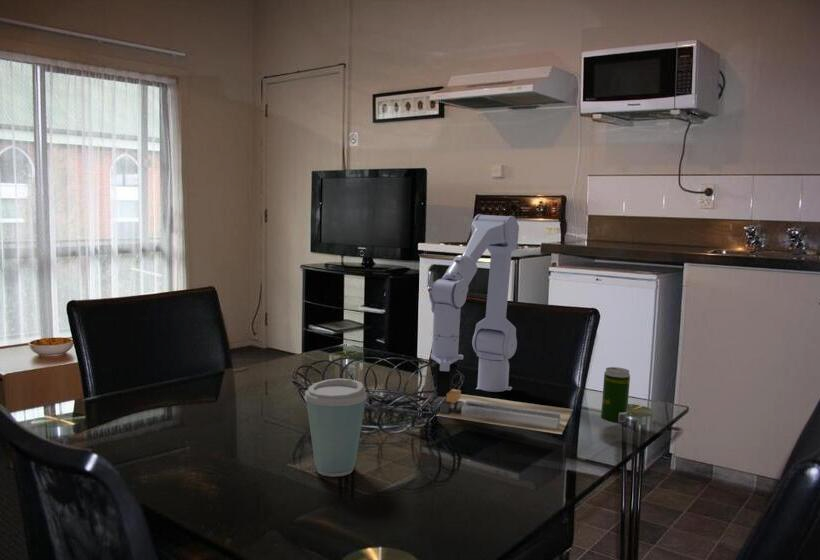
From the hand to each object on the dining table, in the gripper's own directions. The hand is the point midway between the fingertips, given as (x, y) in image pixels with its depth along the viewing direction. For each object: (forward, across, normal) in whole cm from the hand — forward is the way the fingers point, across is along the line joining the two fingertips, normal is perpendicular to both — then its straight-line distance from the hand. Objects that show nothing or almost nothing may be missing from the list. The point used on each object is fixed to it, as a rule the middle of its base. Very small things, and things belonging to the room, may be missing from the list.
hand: (442, 396), depth 156 cm
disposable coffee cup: (+5, -35, +18) cm, 40 cm away
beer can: (+4, +1, -38) cm, 38 cm away
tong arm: (+3, -3, -14) cm, 14 cm away
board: (+4, +1, -14) cm, 14 cm away
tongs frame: (+3, -4, -11) cm, 12 cm away
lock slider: (0, -1, -2) cm, 3 cm away
